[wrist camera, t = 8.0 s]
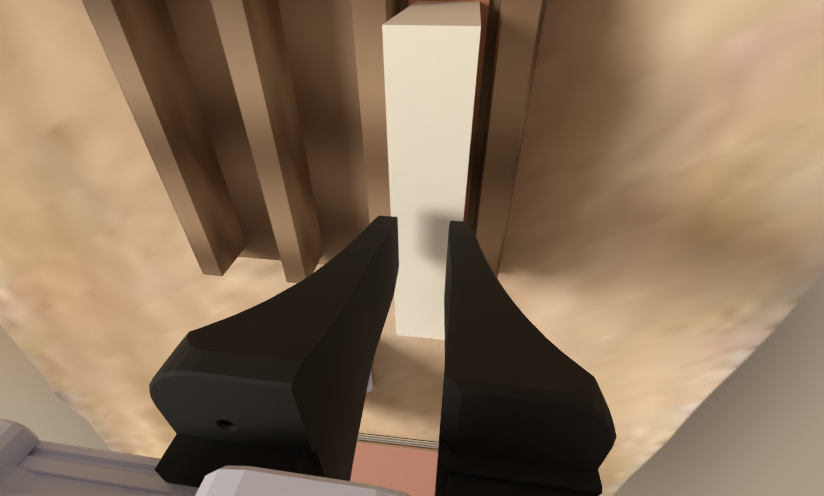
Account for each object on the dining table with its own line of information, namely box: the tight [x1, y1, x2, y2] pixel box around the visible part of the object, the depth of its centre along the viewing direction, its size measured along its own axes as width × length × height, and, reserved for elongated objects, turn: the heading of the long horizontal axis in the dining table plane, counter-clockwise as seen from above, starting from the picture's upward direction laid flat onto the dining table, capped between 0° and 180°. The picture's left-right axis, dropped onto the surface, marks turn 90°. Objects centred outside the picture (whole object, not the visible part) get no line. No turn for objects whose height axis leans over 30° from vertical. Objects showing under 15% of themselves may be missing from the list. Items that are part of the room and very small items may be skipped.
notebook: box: [350, 434, 439, 496], centre depth 44 cm, size 27×17×2 cm, turn 93°
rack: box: [82, 0, 547, 283], centre depth 19 cm, size 17×18×4 cm
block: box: [382, 1, 481, 340], centre depth 16 cm, size 12×2×7 cm, turn 0°
